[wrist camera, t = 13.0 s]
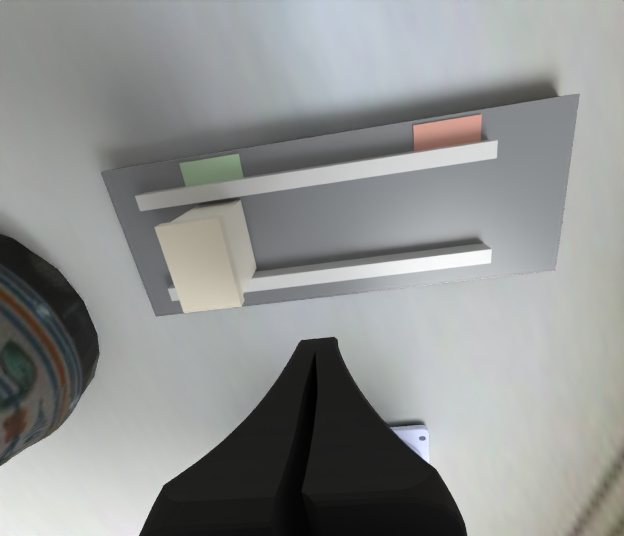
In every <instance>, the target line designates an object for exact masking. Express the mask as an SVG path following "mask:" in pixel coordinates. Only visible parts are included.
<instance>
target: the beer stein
mask: <svg viewBox="0 0 624 536" xmlns="http://www.w3.org/2000/svg"><path fill="white" fill-rule="evenodd" d="M98 358H99V345H98V336H97V333H96V330H95V328H94V325H93V323H92V321H91V318H90V316H89V313H88V311H87V309H86V306H85V304H84V301H83V300H82V299H81V297H80V296H79V295H78V294H77V293H76V291H75V290H74V289H73V288H72V286H71V285H70V284H69V283H68V281H67V280H66V279H65V278H64V277H63V275H62V274H61V273H60V272H59V270H58V269H56V268H55V267H53V266H52V265H51V264H49V263H48V262H46V261H45V260H43V259H42V258H40V257H39V256H38V255H36V254H35V253H33V252H32V251H30V250H29V249H27V248H26V247H24V246H23V245H22V244H20V243H19V242H17V241H16V240H14V239H13V238H10V237H6V236H3V235H0V466H1V465H2V464H4V463H6V462H7V461H8V460H10V459H11V458H12V457H14V456H15V455H17V454H18V453H20V452H21V451H23V450H24V449H26V448H27V447H29V446H31V445H33V444H35V443H37V442H39V441H40V440H42V439H44V438H46V437H47V436H49V435H50V434H52V433H53V432H54V431H55V430H57V429H58V428H59V427H60V426H61V425H62V424H63V423H64V422H65V420H66V419H67V418H68V417H69V416H70V414H71V413H72V411H73V410H74V408H75V407H76V405H77V403H78V401H79V399H80V397H81V395H82V394H83V392H84V391H85V389H86V388H87V386H88V385H89V383H90V382H91V380H92V379H93V378H94V375H95V370H96V366H97V362H98Z"/></svg>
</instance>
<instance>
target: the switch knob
mask: <svg viewBox="0 0 624 536" xmlns="http://www.w3.org/2000/svg"><path fill="white" fill-rule="evenodd" d="M154 228H155V231H156V234H157V236H158V239H159V242H160V245H161V248H162V251H163V254H164V257H165V260H166V263H167V266H168V268H169V271H170V274H171V277H172V280H173V283H174V286H175V289H176V292H177V295H178V298H179V300H180V303H181V306H182V309H183V312H184V313H190V312H199V311H208V310H216V309H225V308H234V307H242V305H243V303H244V296H243V294H244V292H245V290H246V288H247V286H248V284H249V282H250V280H251V278H252V276H253V274H254V272H255V270H256V268H257V267H256V263H255V259H254V254H253V250H252V246H251V242H250V237H249V233H248V229H247V224H246V220H245V216H244V212H243V207H242V203H241V200H236V201H229V202H222V203H216V204H209V205H202V206H196V207H194V208H193V209H191V210H189V211H188V212H186V213H185V214H183V215H181V216H180V217H178V218H176V219H175V220H173V221H171V222H169V223H162V224H159V225H158V226H156V227H154Z"/></svg>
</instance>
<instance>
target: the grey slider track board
mask: <svg viewBox="0 0 624 536" xmlns="http://www.w3.org/2000/svg"><path fill="white" fill-rule="evenodd" d="M578 101H579V94H573V95H565V96H558V97H552V98H546V99H540V100H534V101H528V102H521V103H515V104H509V105H503V106H497V107H491V108H485V109H479V110H473V111H466V112H460V113H454V114H448V115H442V116H436V117H430V118H424V119H418V120H412V121H405V122H399V123H393V124H387V125H381V126H375V127H369V128H363V129H357V130H351V131H344V132H338V133H332V134H326V135H320V136H314V137H308V138H302V139H296V140H289V141H283V142H277V143H271V144H265V145H259V146H253V147H247V148H241V149H235V150H228V151H222V152H216V153H210V154H204V155H198V156H192V157H186V158H180V159H173V160H167V161H161V162H155V163H149V164H143V165H137V166H131V167H125V168H119V169H113V170H108V171H103V172H101V174H102V177H103V179H104V182H105V185H106V187H107V190H108V192H109V195H110V198H111V200H112V203H113V206H114V208H115V211H116V213H117V216H118V219H119V221H120V224H121V226H122V229H123V232H124V234H125V237H126V239H127V242H128V245H129V247H130V250H131V253H132V255H133V258H134V260H135V263H136V266H137V268H138V271H139V273H140V276H141V279H142V281H143V284H144V287H145V289H146V292H147V294H148V297H149V300H150V302H151V305H152V307H153V310H154V313H155V315H156V316H164V315H173V314H181V313H184V312H183V309H182V306H181V303H180V300H179V298H178V295H177V292H176V289H175V286H174V283H173V280H172V277H171V274H170V271H169V268H168V266H167V263H166V260H165V257H164V254H163V251H162V248H161V245H160V242H159V239H158V236H157V234H156V231H155V228H154V227H156V226H158V225H159V224H162V223H169V222H171V221H173V220H175V219H176V218H178V217H180V216H181V215H183V214H185V213H186V212H188V211H189V210H191V209H193V208H194V207H196V206H202V205H209V204H216V203H222V202H229V201H236V200H241V203H242V207H243V212H244V216H245V220H246V224H247V229H248V233H249V237H250V242H251V246H252V250H253V254H254V259H255V263H256V267H257V268H256V270H255V272H254V274H253V276H252V278H251V280H250V282H249V284H248V286H247V288H246V290H245V292H244V294H243V296H244V303H243V305H242V306H251V305H260V304H268V303H277V302H286V301H294V300H303V299H312V298H321V297H329V296H338V295H347V294H355V293H364V292H373V291H381V290H390V289H399V288H407V287H416V286H425V285H433V284H442V283H451V282H460V281H468V280H477V279H486V278H494V277H503V276H512V275H520V274H529V273H538V272H546V271H555V270H556V263H557V256H558V248H559V241H560V234H561V226H562V219H563V212H564V204H565V197H566V190H567V182H568V175H569V168H570V160H571V153H572V146H573V138H574V131H575V123H576V116H577V109H578Z"/></svg>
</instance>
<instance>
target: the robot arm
mask: <svg viewBox="0 0 624 536" xmlns="http://www.w3.org/2000/svg"><path fill="white" fill-rule="evenodd" d="M139 536H467V532H466V526H465V523H464V520H463V518H462V515H461V513H460V511H459V509H458V507H457V505H456V503H455V501H454V499H453V497H452V495H451V493H450V491H449V490H448V488H447V486H446V484H445V483H444V481H443V480H442V478H441V476H440V475H439V473H438V472H437V470H436V469H435V468H434V467H433V466H431V465H430V461H429V432H428V429H427V427H426V426H424V425H414V426H400V427H389V426H388V425H387V424H386V423H385V422H384V421H383V420H382V418H381V417H380V416H379V415H378V414H377V412H376V411H375V410H374V409H373V407H372V406H371V405H370V404H369V402H368V401H367V400H366V398H365V397H364V395H363V394H362V392H361V391H360V389H359V388H358V386H357V385H356V383H355V381H354V380H353V378H352V376H351V375H350V373H349V371H348V369H347V367H346V365H345V363H344V361H343V358H342V356H341V353H340V351H339V347H338V341H337V339H336V338H335V337H329V338H319V339H309V340H301V341H300V342H299V344H298V346H297V348H296V349H295V351H294V353H293V355H292V357H291V358H290V360H289V362H288V363H287V365H286V367H285V368H284V370H283V371H282V373H281V374H280V376H279V378H278V379H277V380H276V382H275V383H274V385H273V386H272V387H271V389H270V390H269V392H268V393H267V394H266V396H265V397H264V398H263V399H262V401H261V402H260V403H259V404H258V406H257V407H256V408H255V409H254V410H253V411H252V412H251V414H250V415H249V416H248V417H247V418H246V419H245V420H244V421H243V422H242V423H241V424H240V425H239V426H238V427H237V428H236V429H235V430H234V431H233V432H232V433H231V434H230V435H229V436H228V437H227V438H225V439H224V440H223V441H222V442H221V443H220V444H219V445H217V446H216V447H215V448H214V449H213V450H211V451H210V452H209V453H208V454H206V455H205V456H204V457H203V458H201V459H200V460H199V461H198V462H196V463H195V464H193V465H192V466H191V467H189V468H188V469H186V470H185V471H184V472H182V473H181V474H179V475H178V476H177V477H175V478H174V479H172V480H171V481H169V482H168V483H166V484H165V485H164V486H163V488H162V490H161V492H160V493H159V495H158V497H157V499H156V501H155V502H154V505H153V507H152V509H151V511H150V513H149V515H148V517H147V519H146V522H145V524H144V526H143V528H142V530H141V533H140V535H139Z"/></svg>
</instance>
